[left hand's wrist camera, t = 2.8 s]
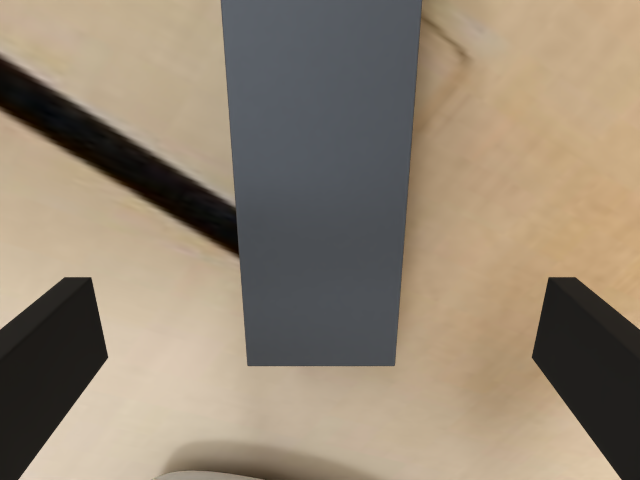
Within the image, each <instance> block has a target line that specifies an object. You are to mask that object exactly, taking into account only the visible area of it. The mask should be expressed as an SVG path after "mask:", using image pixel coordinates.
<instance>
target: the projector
mask: <svg viewBox="0 0 640 480" xmlns="http://www.w3.org/2000/svg"><path fill="white" fill-rule="evenodd" d="M152 480H263V479H258V478H253V477H247V476H241V475H235V474H228V473H220V472H211V471H176V472H171V473H167V474H164V475H160V476H158V477H156V478H154V479H152Z"/></svg>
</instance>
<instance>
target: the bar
mask: <svg viewBox="0 0 640 480" xmlns="http://www.w3.org/2000/svg"><path fill="white" fill-rule="evenodd" d="M421 9H422V0H221V10H222V23H223V37H224V51H225V65H226V78H227V92H228V106H229V119H230V133H231V147H232V161H233V174H234V188H235V202H236V215H237V229H238V243H239V257H240V270H241V284H242V298H243V311H244V325H245V339H246V353H247V365H248V366H394V365H395V357H396V344H397V330H398V317H399V304H400V290H401V277H402V263H403V250H404V237H405V223H406V210H407V197H408V183H409V170H410V156H411V143H412V130H413V116H414V103H415V90H416V76H417V63H418V49H419V36H420V23H421Z"/></svg>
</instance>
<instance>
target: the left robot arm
mask: <svg viewBox="0 0 640 480" xmlns="http://www.w3.org/2000/svg"><path fill="white" fill-rule="evenodd" d="M107 358H108V354H107V350H106V345H105V340H104V335H103V331H102V326H101V321H100V316H99V312H98V307H97V302H96V297H95V293H94V288H93V283H92V278H91V277H64V278H63V279H62V280H61V281H60V282H58V283H57V284H56V285H55V286H53V287H52V288H51V289H50V290H48V291H47V292H46V293H45V294H44V295H42V296H41V297H40V298H39V299H37V300H36V301H35V302H34V303H33V304H31V305H30V306H29V307H28V308H26V309H25V310H24V311H23V312H21V313H20V314H19V315H18V316H17V317H15V318H14V319H13V320H12V321H10V322H9V323H8V324H7V325H5V326H4V327H3V328H2V329H1V330H0V480H18V479H19V478H20V477H21V475H22V474H23V473H24V471H25V470H26V469H27V467H28V466H29V464H30V463H31V462H32V460H33V459H34V458H35V456H36V455H37V454H38V452H39V451H40V450H41V448H42V447H43V445H44V444H45V443H46V441H47V440H48V439H49V437H50V436H51V435H52V433H53V432H54V431H55V429H56V428H57V426H58V425H59V424H60V422H61V421H62V420H63V418H64V417H65V416H66V414H67V413H68V411H69V410H70V409H71V407H72V406H73V405H74V403H75V402H76V401H77V399H78V398H79V397H80V395H81V394H82V392H83V391H84V390H85V388H86V387H87V386H88V384H89V383H90V382H91V380H92V379H93V378H94V376H95V375H96V373H97V372H98V371H99V369H100V368H101V367H102V365H103V364H104V363H105V361H106V360H107ZM532 358H533V360H534V361H535V363H536V364H537V365H538V367H539V368H540V369H541V371H542V372H543V373H544V375H545V376H546V378H547V379H548V380H549V382H550V383H551V384H552V386H553V387H554V388H555V390H556V391H557V392H558V394H559V395H560V397H561V398H562V399H563V401H564V402H565V403H566V405H567V406H568V407H569V409H570V410H571V411H572V413H573V414H574V416H575V417H576V418H577V420H578V421H579V422H580V424H581V425H582V426H583V428H584V429H585V431H586V432H587V433H588V435H589V436H590V437H591V439H592V440H593V441H594V443H595V444H596V445H597V447H598V448H599V450H600V451H601V452H602V454H603V455H604V456H605V458H606V459H607V460H608V462H609V463H610V464H611V466H612V467H613V469H614V470H615V471H616V473H617V474H618V475H619V477H620V478H621V479H622V480H640V330H639V329H638V328H637V327H636V326H635V325H633V324H632V323H631V322H630V321H628V320H627V319H626V318H625V317H623V316H622V315H621V314H620V313H619V312H617V311H616V310H615V309H614V308H612V307H611V306H610V305H609V304H607V303H606V302H605V301H604V300H603V299H601V298H600V297H599V296H598V295H596V294H595V293H594V292H593V291H592V290H590V289H589V288H588V287H587V286H585V285H584V284H583V283H582V282H580V281H579V280H578V279H577V278H576V277H549V278H548V283H547V288H546V293H545V297H544V302H543V307H542V312H541V316H540V321H539V326H538V331H537V335H536V340H535V345H534V350H533V354H532Z"/></svg>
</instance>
